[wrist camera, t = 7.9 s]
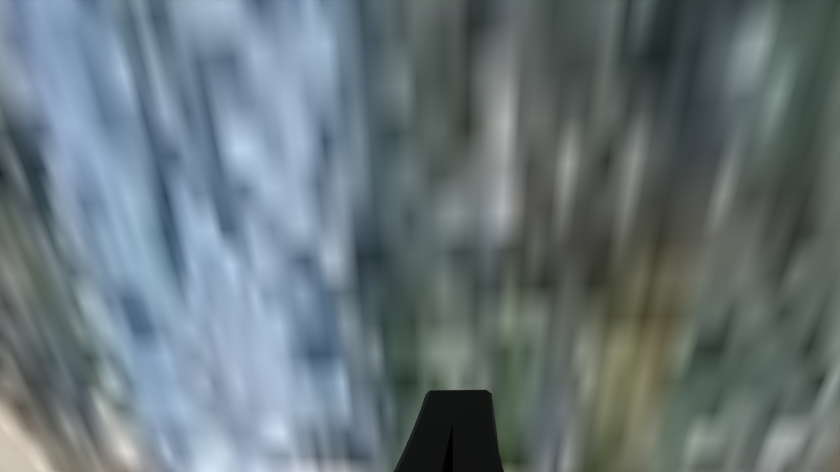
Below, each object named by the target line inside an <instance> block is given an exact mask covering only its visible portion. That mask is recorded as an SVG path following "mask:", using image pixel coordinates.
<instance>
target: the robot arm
mask: <svg viewBox="0 0 840 472" xmlns="http://www.w3.org/2000/svg"><path fill="white" fill-rule="evenodd" d="M394 472H504V471H503V467H502V463H501V459H500V455H499V449H498V439H497V431H496V424H495V416H494V409H493V401H492V394H491V393H490V392H488V391H487V390H438V391H429V392H428V393H427V394H426V395H425V398H424V401H423V404H422V407H421V410H420V413H419V415H418V418H417V421H416V423H415V426H414V428H413V431H412V433H411V435H410V438H409V440H408V442H407V445H406V447H405V449H404V452H403V454H402V456H401V458H400V460H399V462H398V464H397V466H396V468H395V470H394Z"/></svg>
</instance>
